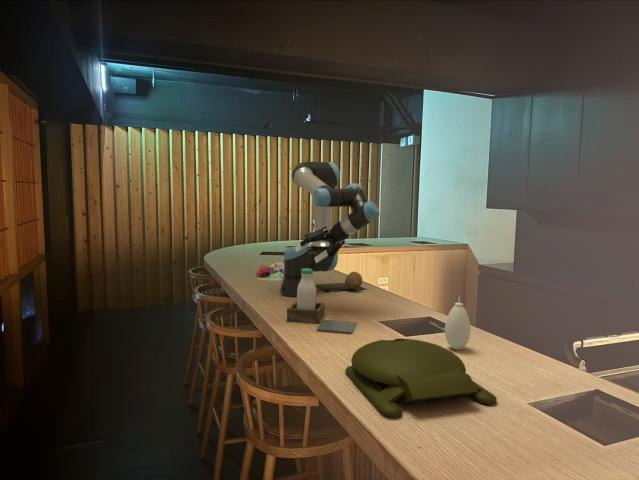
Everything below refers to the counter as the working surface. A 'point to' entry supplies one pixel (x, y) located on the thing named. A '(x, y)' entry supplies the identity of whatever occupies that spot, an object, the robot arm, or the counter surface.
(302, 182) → the robot arm
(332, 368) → the counter surface
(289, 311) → the walnut caddy
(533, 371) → the counter surface
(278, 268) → the candy landscape model
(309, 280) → the milk bottle
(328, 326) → the slate tile
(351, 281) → the natural sponge
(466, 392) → the spaceship
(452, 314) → the grey air blower bulb
